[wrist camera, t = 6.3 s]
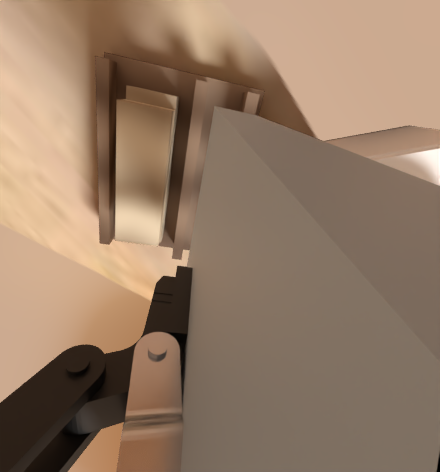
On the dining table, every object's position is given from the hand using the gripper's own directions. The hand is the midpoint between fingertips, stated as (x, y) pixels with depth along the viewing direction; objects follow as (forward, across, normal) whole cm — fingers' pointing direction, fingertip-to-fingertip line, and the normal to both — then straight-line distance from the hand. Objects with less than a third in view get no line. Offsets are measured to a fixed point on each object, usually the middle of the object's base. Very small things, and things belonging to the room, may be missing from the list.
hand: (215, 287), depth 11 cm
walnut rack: (+19, +4, 0) cm, 19 cm away
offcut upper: (+15, +6, 0) cm, 16 cm away
